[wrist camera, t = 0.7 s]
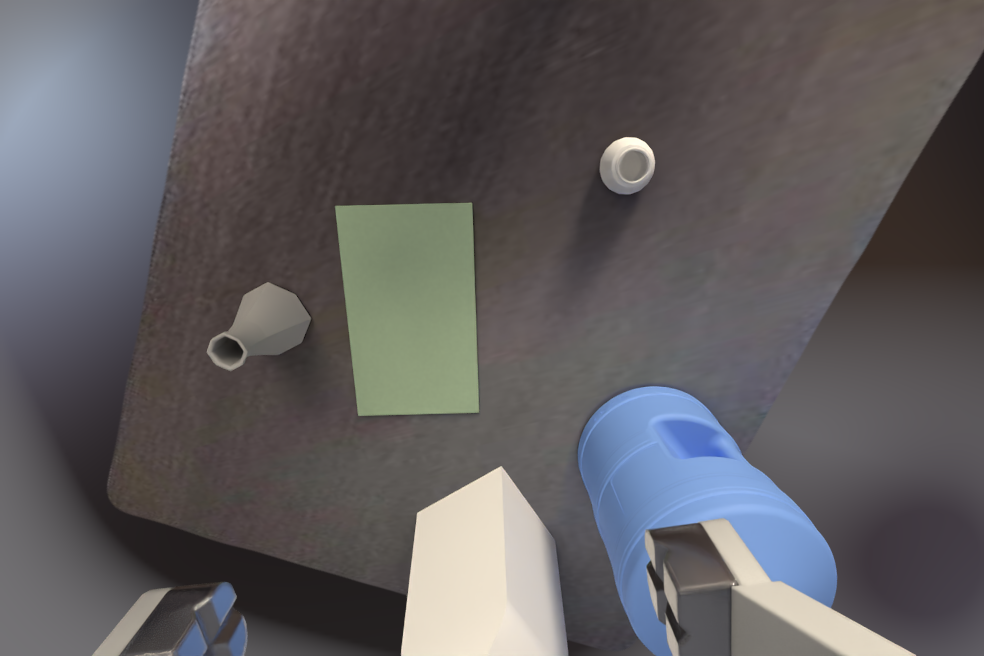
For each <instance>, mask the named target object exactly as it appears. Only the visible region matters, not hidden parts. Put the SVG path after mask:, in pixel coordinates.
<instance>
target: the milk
mask: <svg viewBox="0 0 984 656" xmlns="http://www.w3.org/2000/svg"><path fill="white" fill-rule="evenodd" d="M401 656H568V646H567V638H566V629H565V621H564V612H563V604H562V595H561V587H560V578H559V570H558V561H557V552H556V544H555V539H554V538H553V537H552V535H551V534H550V532H549V531H548V530H547V528H546V527H545V526H544V524H543V523H542V521H541V520H540V519H539V517H538V516H537V514H536V513H535V512H534V510H533V509H532V508H531V506H530V505H529V503H528V502H527V501H526V499H525V498H524V496H523V495H522V494H521V492H520V491H519V490H518V488H517V487H516V485H515V484H514V483H513V481H512V480H511V478H510V477H509V476H508V474H507V473H506V472H505V470H504V469H503V467H502V466H501V467H499V468H497V469H495V470H493V471H492V472H490V473H488V474H486V475H484V476H483V477H481V478H479V479H477V480H476V481H474V482H472V483H470V484H468V485H467V486H465V487H463V488H461V489H459V490H458V491H456V492H454V493H452V494H450V495H449V496H447V497H445V498H443V499H441V500H440V501H438V502H436V503H434V504H433V505H431V506H429V507H427V508H425V509H424V510H422V511H420V512H418V513H417V520H416V529H415V538H414V546H413V555H412V563H411V572H410V581H409V589H408V599H407V606H406V615H405V624H404V632H403V641H402V650H401Z"/></svg>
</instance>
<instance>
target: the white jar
mask: <svg viewBox="0 0 984 656" xmlns="http://www.w3.org/2000/svg"><path fill="white" fill-rule="evenodd" d="M654 167H655V159H654V155H653V151H652V150H651V149H650V147H649V146H648V145H647V144H646V142H644V141H642V140H640V139H638V138H630V137H625V138H622V139H619V140H617V141H614V142H613V143H612V144H611V145H610V146H609V147H608V148H607V149H606V150H605V152H604V154H603V156H602V158H601V160H600V170H599V171H600V174H601V178H602V181H603V182H604V184H605V185H606V186H607V187H608V189H610V190H612V191H614V192H616V193H618V194H632V193H635V192H638V191H640V190H641V189H642V188H643V187H645V186H646V185H647V184H648V183H649V181H650V179H651V177H652V175H653V173H654Z"/></svg>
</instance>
